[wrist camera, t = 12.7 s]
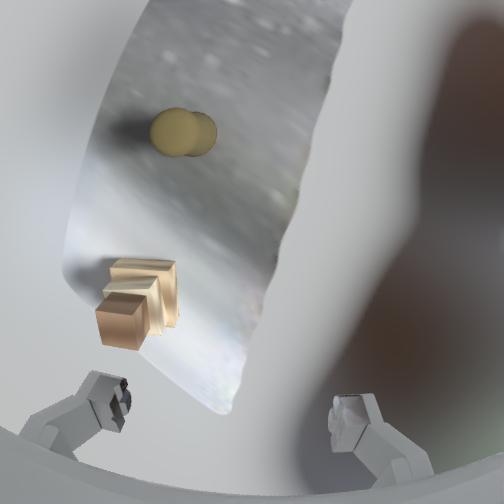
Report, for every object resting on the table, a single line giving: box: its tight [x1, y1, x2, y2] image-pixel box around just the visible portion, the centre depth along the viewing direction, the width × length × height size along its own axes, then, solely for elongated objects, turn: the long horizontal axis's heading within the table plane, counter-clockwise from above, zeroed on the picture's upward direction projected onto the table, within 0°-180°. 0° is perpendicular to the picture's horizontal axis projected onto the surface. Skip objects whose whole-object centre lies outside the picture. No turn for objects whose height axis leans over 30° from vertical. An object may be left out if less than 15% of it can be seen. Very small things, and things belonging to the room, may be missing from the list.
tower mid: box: [102, 276, 168, 336], centre depth 41 cm, size 7×7×4 cm
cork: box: [150, 108, 217, 157], centre depth 33 cm, size 6×6×11 cm
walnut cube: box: [95, 292, 150, 351], centre depth 36 cm, size 5×5×5 cm
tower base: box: [110, 258, 179, 328], centre depth 44 cm, size 9×9×4 cm
